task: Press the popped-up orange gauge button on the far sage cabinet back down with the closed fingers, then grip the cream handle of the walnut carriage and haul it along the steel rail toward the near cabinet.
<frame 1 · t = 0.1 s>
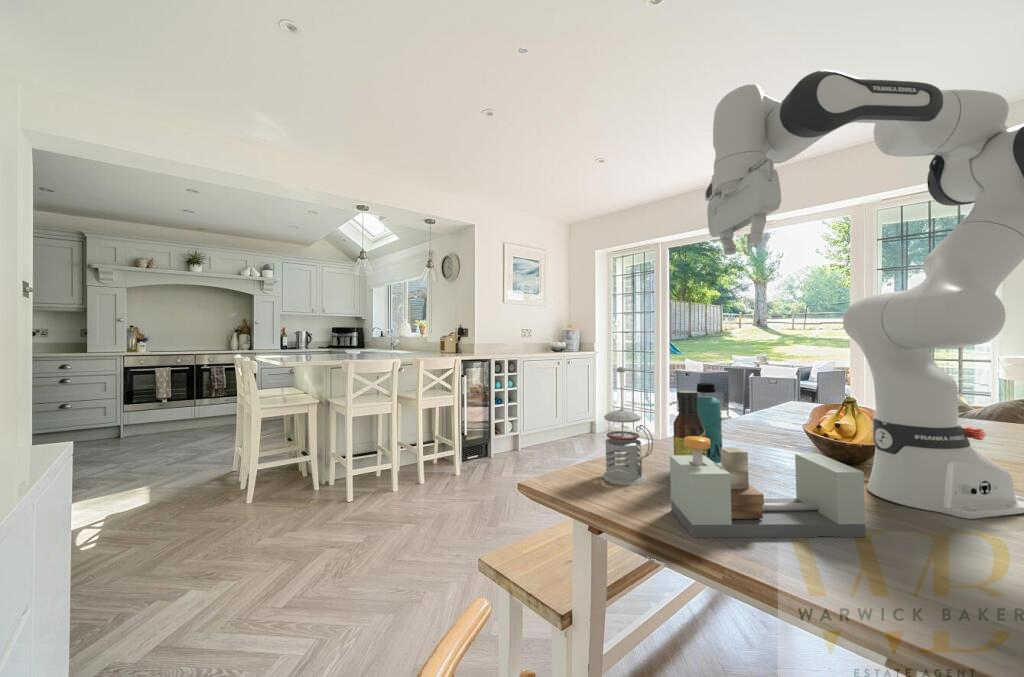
hand: (741, 249, 78), 48 cm above the table, tool pointing down, fingers open, 8 cm apart
carriage: (734, 479, 69), point 7 cm above the table, slide at 0.0 cm
gauge button: (697, 457, 69), point 11 cm above the table, slide at 0.0 cm
french press: (627, 479, 91), on the table
beverage bottle: (708, 466, 98), on the table
rail bench: (760, 522, 68), on the table
sauce bottle: (690, 487, 86), on the table
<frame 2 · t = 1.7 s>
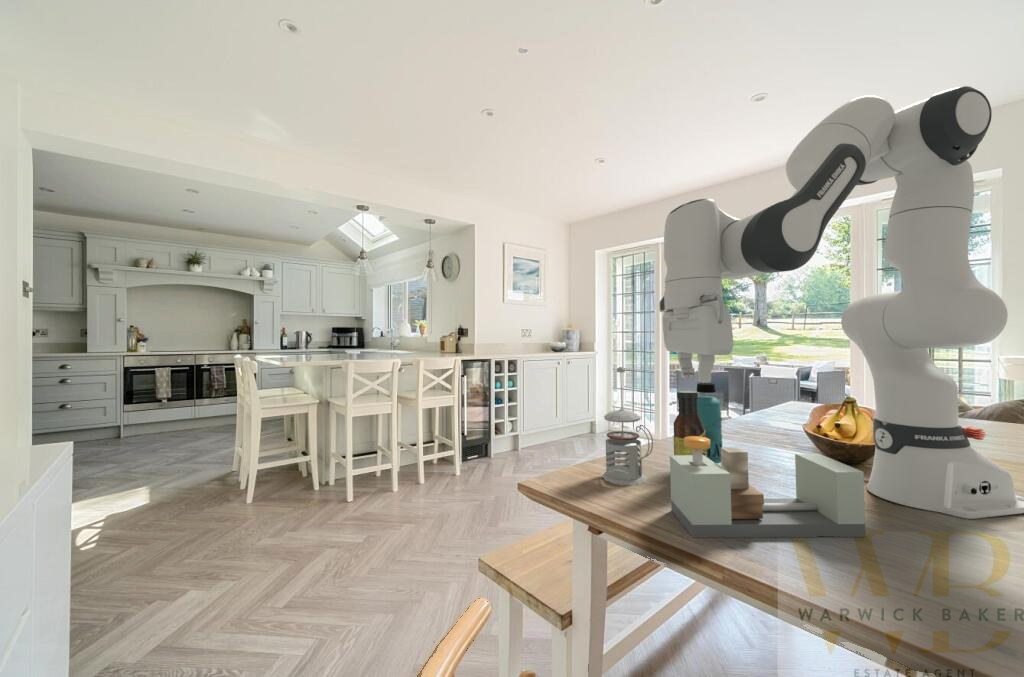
hand: (695, 380, 69), 24 cm above the table, tool pointing down, fingers open, 5 cm apart
nothing on the table moved.
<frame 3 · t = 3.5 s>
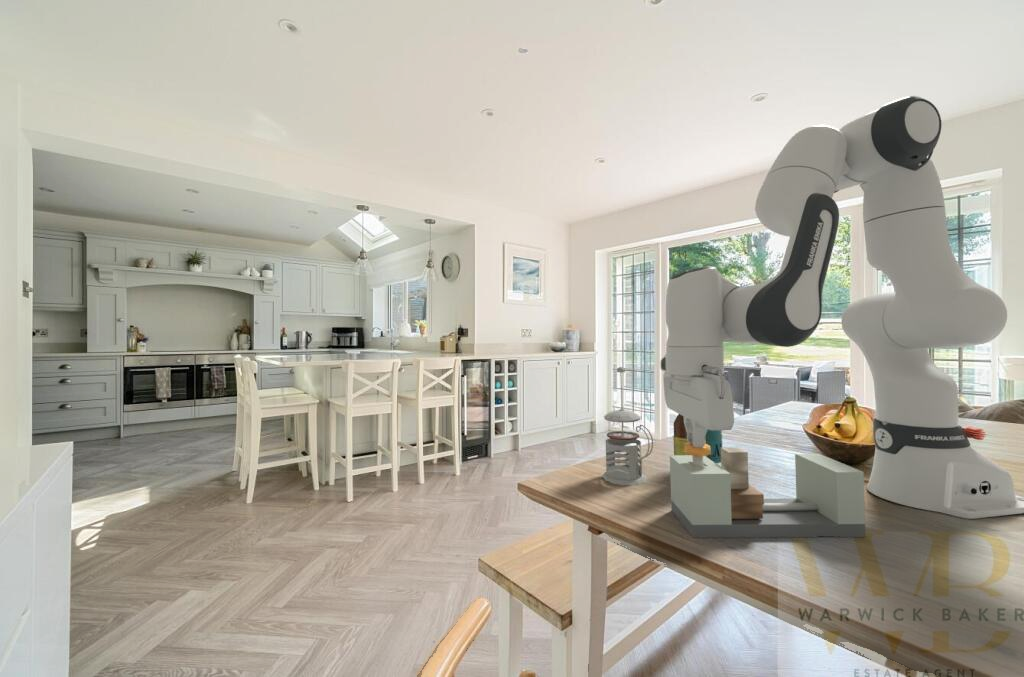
hand: (695, 445, 69), 13 cm above the table, tool pointing down, fingers closed, pressing on gauge button
gauge button: (697, 463, 69), point 10 cm above the table, slide at 1.1 cm, touching gripper
everything else where it was.
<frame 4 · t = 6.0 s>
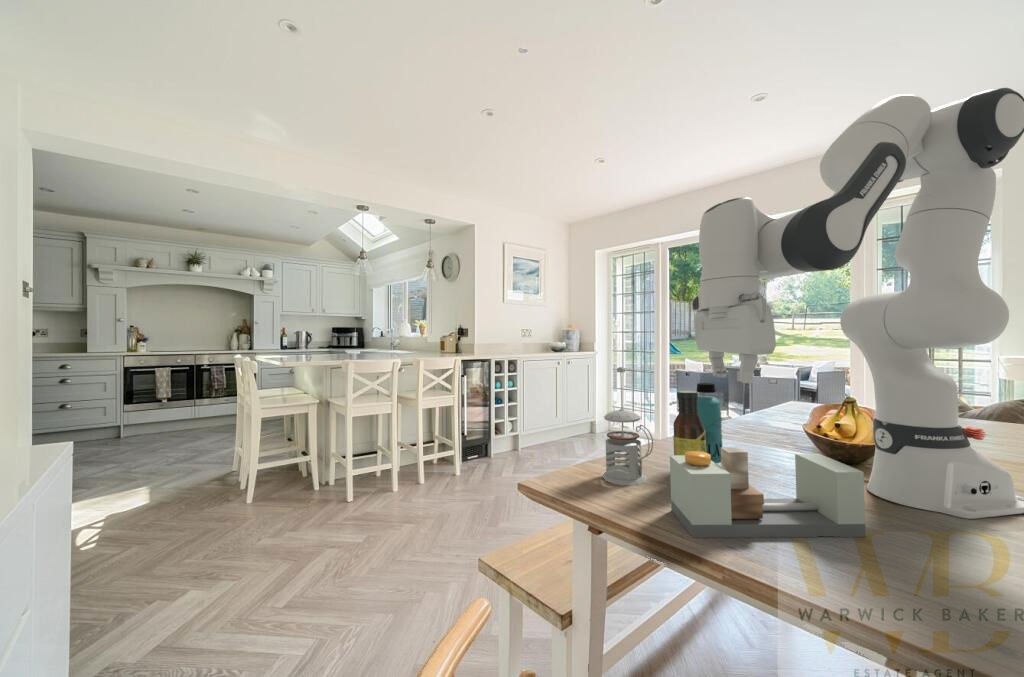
hand: (731, 379, 69), 24 cm above the table, tool pointing down, fingers open, 7 cm apart
gauge button: (698, 472, 69), point 9 cm above the table, slide at 2.6 cm
everything else where it was.
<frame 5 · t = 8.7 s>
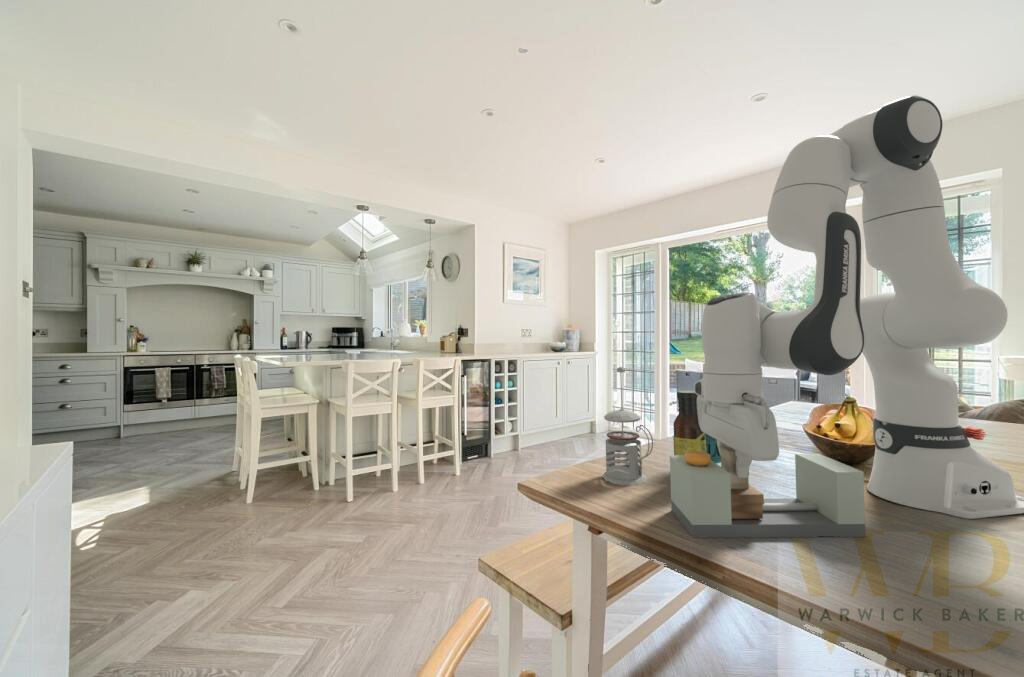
hand: (734, 471, 69), 9 cm above the table, tool pointing down, fingers closed on carriage, 3 cm apart
carriage: (734, 479, 69), point 7 cm above the table, slide at 0.0 cm, touching gripper
everything else where it was.
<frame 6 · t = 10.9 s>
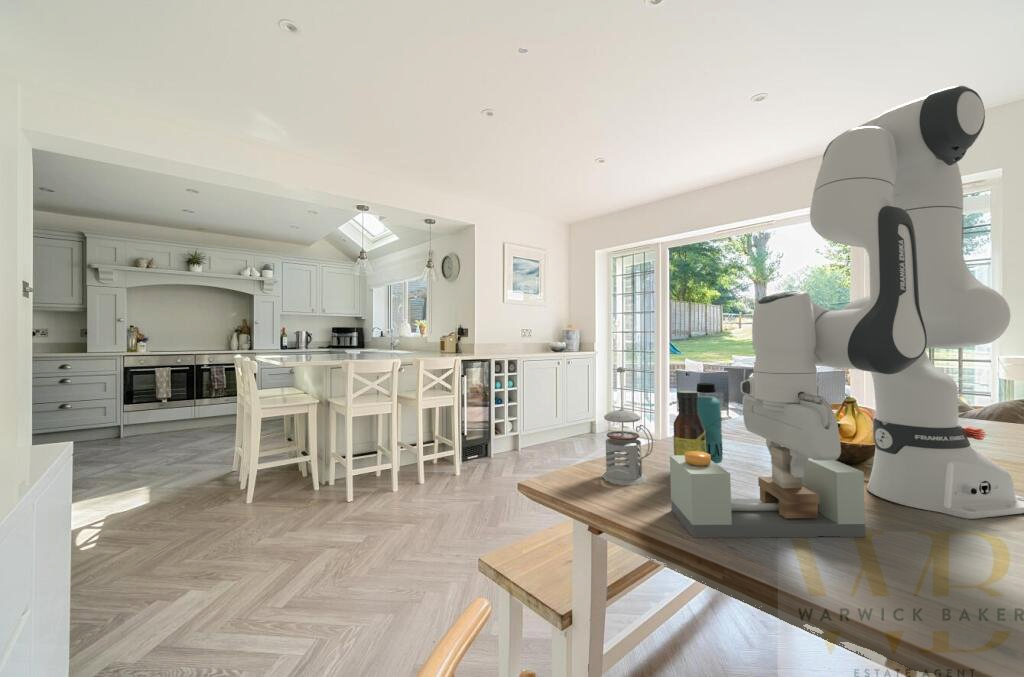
hand: (787, 471, 68), 9 cm above the table, tool pointing down, fingers closed on carriage, 3 cm apart
carriage: (786, 478, 68), point 7 cm above the table, slide at 8.5 cm, touching gripper
everything else where it was.
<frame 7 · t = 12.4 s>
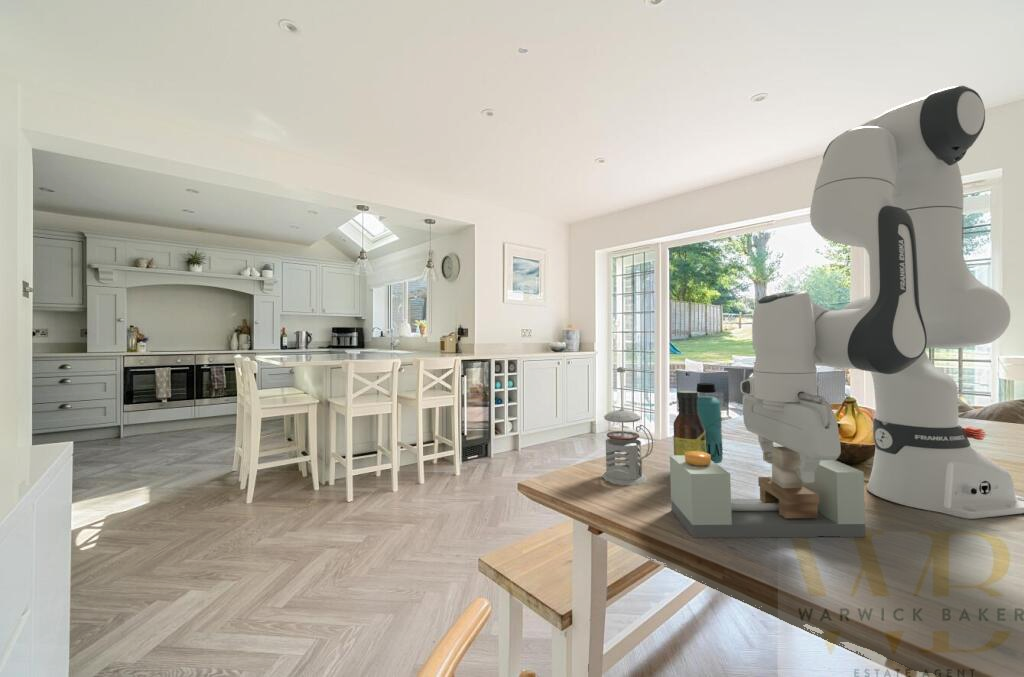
hand: (786, 471, 68), 9 cm above the table, tool pointing down, fingers open, 8 cm apart
carriage: (786, 478, 68), point 7 cm above the table, slide at 8.5 cm
everything else where it was.
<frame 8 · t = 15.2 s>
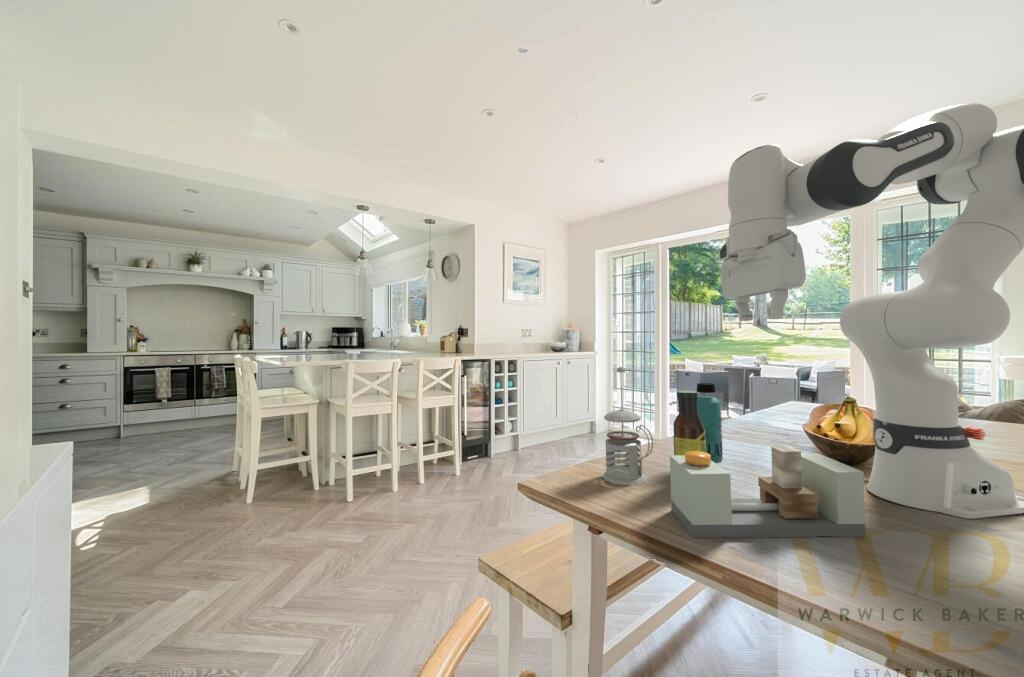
hand: (759, 319, 72), 34 cm above the table, tool pointing down, fingers open, 8 cm apart
nothing on the table moved.
at the end: gauge button slide at 2.6 cm; carriage slide at 8.5 cm; the gripper is holding nothing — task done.
